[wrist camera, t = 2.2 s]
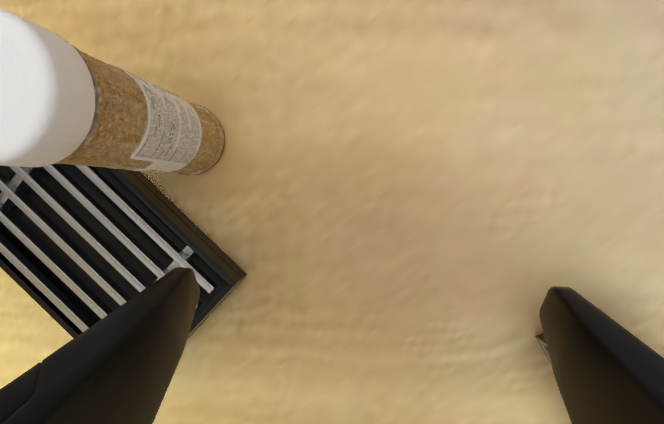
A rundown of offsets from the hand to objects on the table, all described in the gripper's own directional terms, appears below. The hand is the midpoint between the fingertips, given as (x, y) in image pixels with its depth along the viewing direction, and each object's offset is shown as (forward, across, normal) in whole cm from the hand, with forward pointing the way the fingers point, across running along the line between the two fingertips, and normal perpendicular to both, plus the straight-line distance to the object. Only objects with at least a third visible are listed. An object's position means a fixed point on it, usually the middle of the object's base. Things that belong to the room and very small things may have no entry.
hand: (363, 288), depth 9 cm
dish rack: (+11, +18, +8) cm, 22 cm away
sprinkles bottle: (+15, +11, +3) cm, 19 cm away
